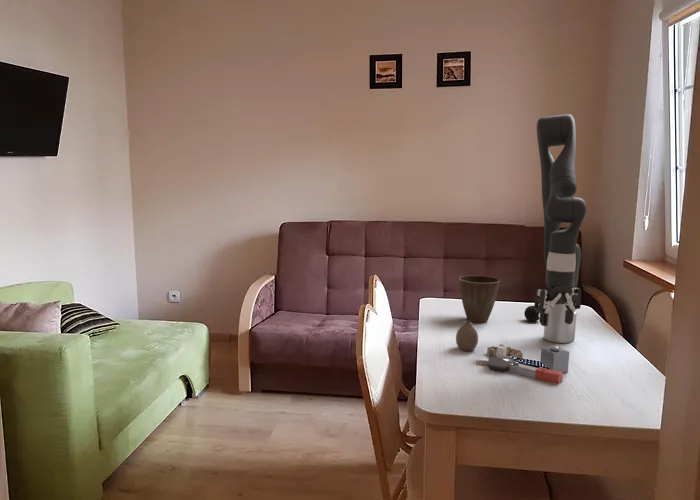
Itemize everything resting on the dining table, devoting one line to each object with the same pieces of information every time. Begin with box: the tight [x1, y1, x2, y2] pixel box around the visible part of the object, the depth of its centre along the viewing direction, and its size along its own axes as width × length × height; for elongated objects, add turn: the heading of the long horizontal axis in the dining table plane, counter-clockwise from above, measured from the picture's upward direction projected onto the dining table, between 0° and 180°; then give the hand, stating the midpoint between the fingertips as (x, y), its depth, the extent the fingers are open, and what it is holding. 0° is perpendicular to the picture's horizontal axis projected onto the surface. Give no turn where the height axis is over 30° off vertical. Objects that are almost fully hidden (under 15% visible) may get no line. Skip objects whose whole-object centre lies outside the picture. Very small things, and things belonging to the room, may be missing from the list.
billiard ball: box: [523, 305, 540, 323], centre depth 217 cm, size 6×6×6 cm
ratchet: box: [487, 346, 564, 386], centre depth 161 cm, size 7×21×6 cm, turn 51°
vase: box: [455, 321, 479, 352], centre depth 182 cm, size 7×7×9 cm
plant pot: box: [458, 275, 500, 324], centre depth 216 cm, size 15×15×16 cm
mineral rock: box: [486, 344, 524, 359], centre depth 176 cm, size 11×4×8 cm
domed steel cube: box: [539, 344, 570, 374], centre depth 165 cm, size 5×5×7 cm
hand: (556, 324), depth 163 cm, fingers open, 8 cm apart
